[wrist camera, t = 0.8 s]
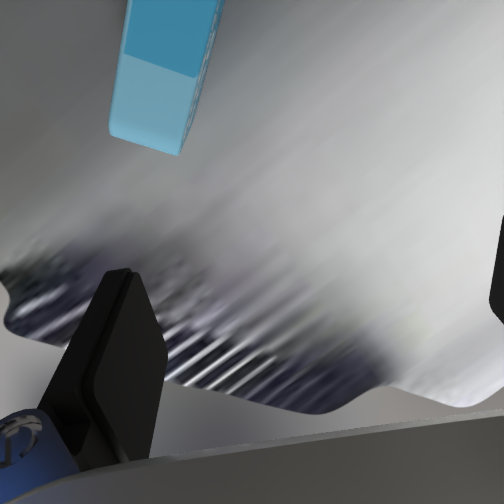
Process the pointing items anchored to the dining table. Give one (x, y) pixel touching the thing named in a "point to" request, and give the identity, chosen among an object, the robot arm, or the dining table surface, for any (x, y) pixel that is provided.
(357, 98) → the dining table surface
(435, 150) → the dining table surface
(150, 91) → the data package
